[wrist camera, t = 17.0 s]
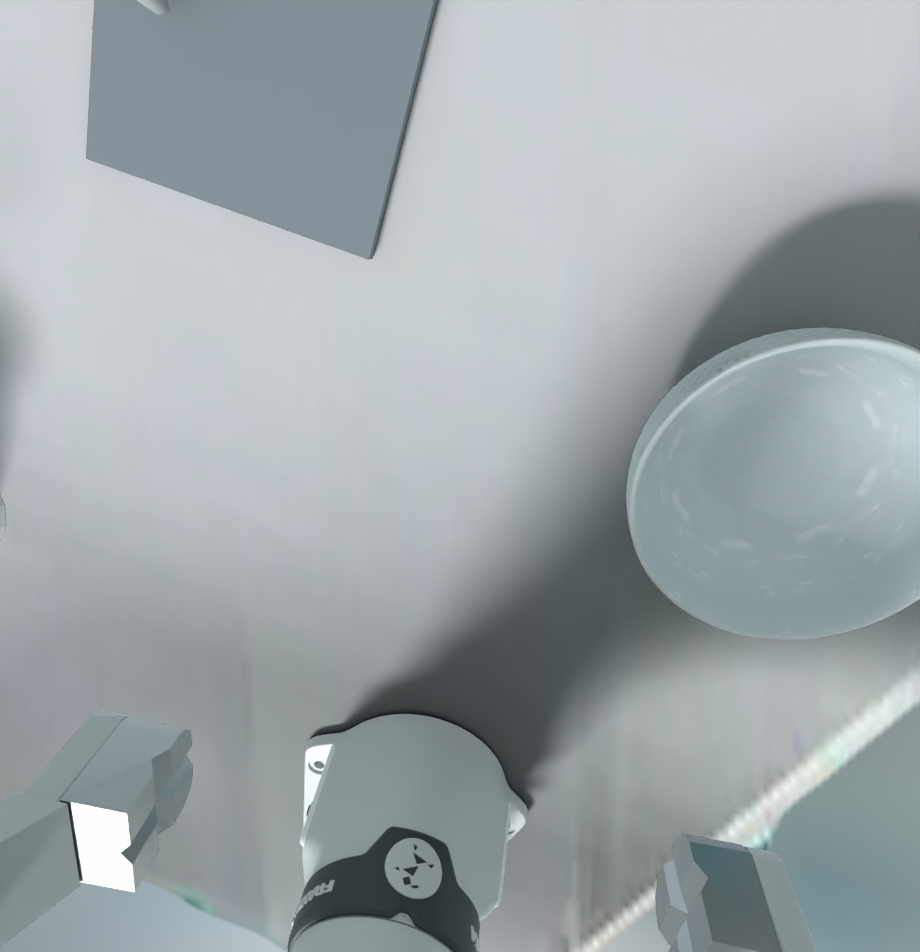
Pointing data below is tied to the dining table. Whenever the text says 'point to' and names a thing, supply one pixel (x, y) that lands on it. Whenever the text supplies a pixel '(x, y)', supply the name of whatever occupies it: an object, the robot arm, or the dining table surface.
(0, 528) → the french press
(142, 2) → the rook chess piece
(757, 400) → the cereal bowl
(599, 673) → the dining table surface
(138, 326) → the dining table surface
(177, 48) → the mat
